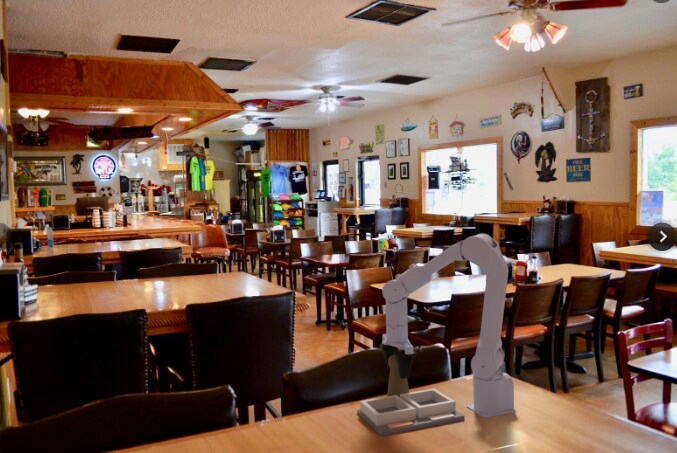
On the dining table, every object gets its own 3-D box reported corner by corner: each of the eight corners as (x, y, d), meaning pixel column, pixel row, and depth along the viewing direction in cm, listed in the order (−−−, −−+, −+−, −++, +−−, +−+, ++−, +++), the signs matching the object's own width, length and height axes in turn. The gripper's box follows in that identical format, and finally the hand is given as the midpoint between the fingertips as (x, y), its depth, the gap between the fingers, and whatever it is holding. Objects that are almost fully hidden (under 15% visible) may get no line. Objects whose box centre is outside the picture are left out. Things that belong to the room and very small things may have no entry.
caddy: (434, 400, 145) (434, 387, 145) (464, 419, 132) (464, 405, 132) (357, 413, 138) (356, 400, 137) (381, 436, 124) (380, 420, 124)
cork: (408, 400, 146) (408, 359, 145) (386, 399, 147) (385, 358, 146) (410, 392, 152) (409, 352, 151) (388, 391, 153) (387, 352, 152)
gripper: (372, 319, 154) (373, 367, 154) (395, 331, 140) (396, 384, 141) (395, 317, 156) (395, 364, 157) (420, 328, 143) (421, 380, 143)
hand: (397, 373), depth 149 cm, fingers open, 7 cm apart
